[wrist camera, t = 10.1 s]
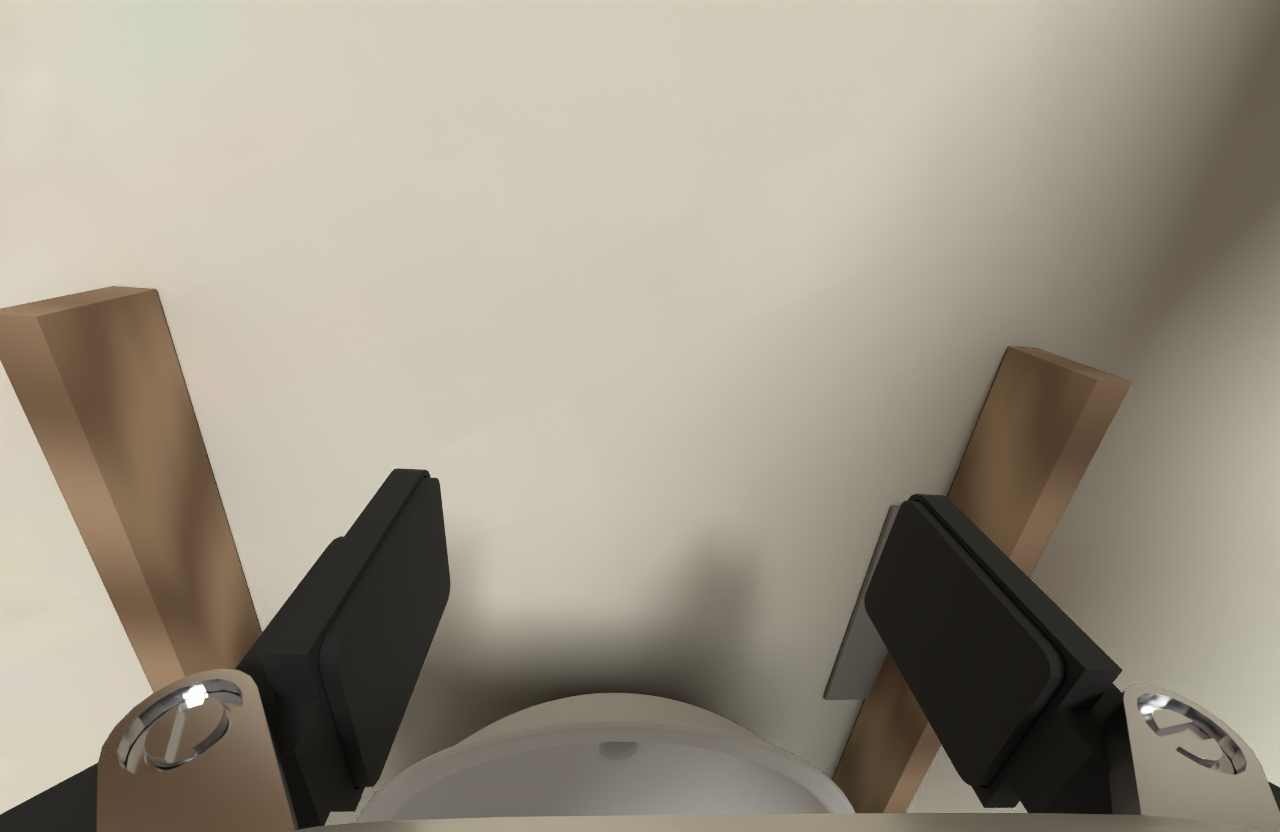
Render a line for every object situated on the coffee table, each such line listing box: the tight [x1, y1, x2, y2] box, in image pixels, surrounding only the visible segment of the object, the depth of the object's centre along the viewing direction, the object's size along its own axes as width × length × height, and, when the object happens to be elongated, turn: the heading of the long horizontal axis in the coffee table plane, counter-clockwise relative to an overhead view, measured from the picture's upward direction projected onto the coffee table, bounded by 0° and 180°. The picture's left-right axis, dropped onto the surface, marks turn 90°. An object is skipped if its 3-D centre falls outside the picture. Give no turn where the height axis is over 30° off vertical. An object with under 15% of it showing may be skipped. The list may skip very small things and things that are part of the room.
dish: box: [356, 693, 856, 823], centre depth 19 cm, size 18×14×5 cm
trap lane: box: [0, 286, 1132, 813], centre depth 17 cm, size 28×26×5 cm
